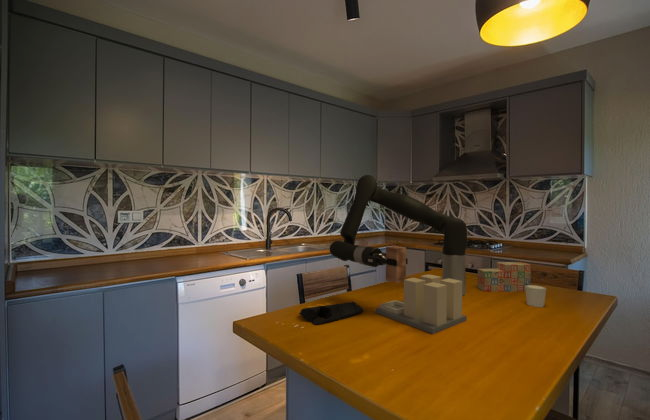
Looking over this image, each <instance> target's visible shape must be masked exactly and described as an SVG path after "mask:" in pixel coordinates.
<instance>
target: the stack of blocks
mask: <svg viewBox="0 0 650 420" xmlns="http://www.w3.org/2000/svg"><path fill="white" fill-rule="evenodd" d="M531 281H532V264H529V263H525V262H523V261H522V262H519V261H509V262H508V261H507V262H506V261H503V262H502V261H498V262H496V268H477V289H479V290H480V291H482V292H526V288H525V286H526V285H532V284H531V283H532V282H531Z"/></svg>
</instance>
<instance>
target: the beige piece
mask: <svg viewBox="0 0 650 420" xmlns="http://www.w3.org/2000/svg"><path fill="white" fill-rule="evenodd" d="M525 288H526V291H525V296H526V305H528V306H530V307H536V308H544V307H545V301H546V294H547V293H546V292H547V287H545V286H542V285H541V286H540V285H535V284H531V285H526V286H525Z"/></svg>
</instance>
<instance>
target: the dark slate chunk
mask: <svg viewBox="0 0 650 420" xmlns="http://www.w3.org/2000/svg"><path fill="white" fill-rule="evenodd" d="M363 312H364V308H363V306H361V305H359V304H357V303H356V302H354V301H349V302H342V303H336V304H335V303H334V304H328V305H327V304H325V305H319V306H312V307H310V306H309V307H304V308H302V309H301V310H300V312H299V313H298V314H299V315H300V316H302V318H303V320H305V321H306V322H308V323H311V324H314V325H315V326H319V325H322V324H329V323H331V322H336V321H339V320H343V319H347V318H350V317H354V316H357V315H359V314H360V313H363Z"/></svg>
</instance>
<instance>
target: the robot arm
mask: <svg viewBox="0 0 650 420" xmlns="http://www.w3.org/2000/svg"><path fill="white" fill-rule="evenodd" d="M369 202H373V203H375V204H378V205H380V206H383V207H384V208H386V209H389V210H390V211H392V212H394V213H396V214H399V216H402V217H404V218H407V219H409V220H411V221H414V222H416V223H419V224H423V225H426V226H429V227H431V228H433V229H434V230H436V231H438V232H440V234H443V246H442V276H441V280H444V279H448V278H450V279H454V280H459V281H462V297H463V296H465V295H466V290H467V288H466V286H467V285H466V284H467V283H466V282H467V280H466V279H467V277H466V276H467V273H466V250H467V246H468V245H467V244H468V227H467V224H466V222H465V221H464V220H463V219H461V218H458V217H453V216H449V215H447V214H444V213H441V212H438V211H437V210H435V209H433V208H431V207H430V206H429V205H427V204H426V203H424V202H422V201H420V200H419V199H416V198H415V197H412V196H410V195H407V194H403V193H399V192H393V191H388V190H387V189H384V188H382V187H380V186H378V182H377V179H376V178H375V177H374V176H373V175H370V174H364V175H363V176H360V177H359V179H358V180H357V182H356V187H355V195H354V197H353V200H352V204H351V205H350V207H349V208H350V209H349V211H348V213H347V215H346V217H345V219H344V221H343V224H342V227H341V229H340V232H339V233H340V234H339V235H340V236H341V237H342V239H343V240H335V241H333V242H332V243H330V245H329V253H330V255H331V256H333V257H334V258H337V259H339V260H341V261H343V262H348V261H350V262H353V263H358V264H360V265H364V266H366V267H367V266H369V267H372V268H377V267H379V266H386V265H391V266H397V260H395V259H389V258H386V252H382V250H381V249H380V247H375V246H369V245H359V244H356V237H357V234H358V231H359V229H360V226H361V224H362V220H363V217H364V214H365V211H366V209H367V205H368V203H369ZM408 263H409V261H408V257H406V265H408Z"/></svg>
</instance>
